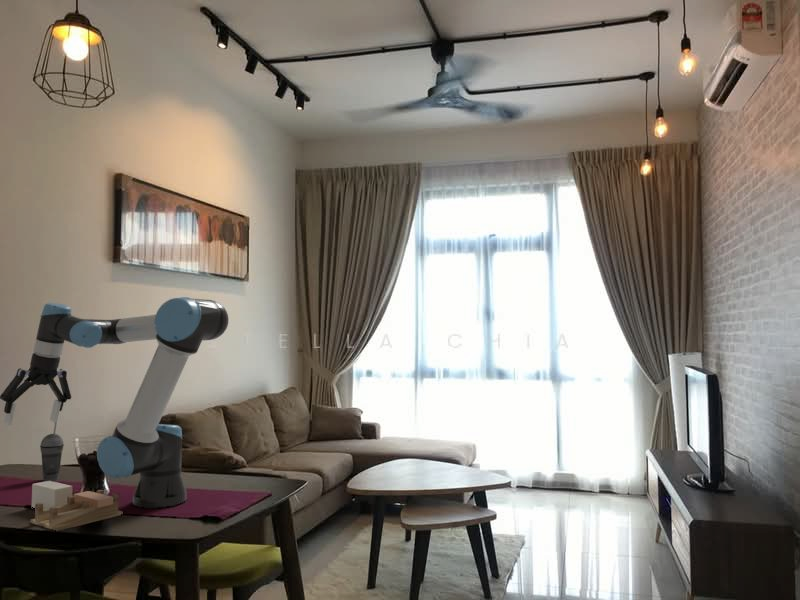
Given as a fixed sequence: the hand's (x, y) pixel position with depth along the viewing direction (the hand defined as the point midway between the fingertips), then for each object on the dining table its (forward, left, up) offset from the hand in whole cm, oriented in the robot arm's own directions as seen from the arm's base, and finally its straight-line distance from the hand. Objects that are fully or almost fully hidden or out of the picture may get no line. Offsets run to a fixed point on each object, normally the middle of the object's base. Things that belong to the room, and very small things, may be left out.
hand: (31, 422), depth 194 cm
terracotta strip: (-26, +14, -20) cm, 36 cm away
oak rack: (-24, +18, -23) cm, 38 cm away
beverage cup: (+8, -28, -24) cm, 37 cm away
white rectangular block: (-12, +9, -24) cm, 28 cm away
